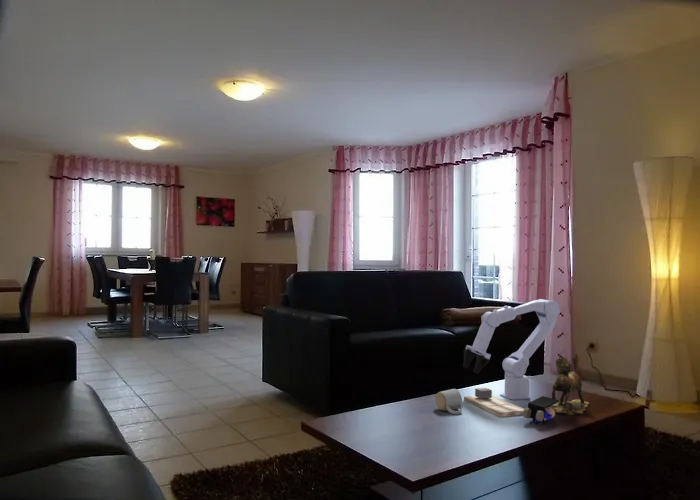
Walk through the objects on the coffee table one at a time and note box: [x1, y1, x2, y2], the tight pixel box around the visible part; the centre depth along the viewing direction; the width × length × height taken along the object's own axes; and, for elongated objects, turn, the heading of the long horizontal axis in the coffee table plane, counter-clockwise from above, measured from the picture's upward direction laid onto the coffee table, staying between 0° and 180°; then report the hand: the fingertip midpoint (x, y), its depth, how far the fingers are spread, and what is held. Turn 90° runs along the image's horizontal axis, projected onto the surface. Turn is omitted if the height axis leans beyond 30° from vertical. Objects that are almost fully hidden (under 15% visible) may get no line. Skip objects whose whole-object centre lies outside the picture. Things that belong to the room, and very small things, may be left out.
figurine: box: [551, 352, 590, 416], centre depth 199 cm, size 13×25×20 cm, turn 136°
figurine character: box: [522, 396, 560, 427], centre depth 180 cm, size 7×8×15 cm
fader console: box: [463, 395, 525, 418], centre depth 197 cm, size 12×23×2 cm, turn 21°
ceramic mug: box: [434, 388, 463, 415], centre depth 191 cm, size 10×8×7 cm
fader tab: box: [474, 387, 493, 399], centre depth 204 cm, size 5×4×3 cm
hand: (470, 370), depth 210 cm, fingers open, 7 cm apart
